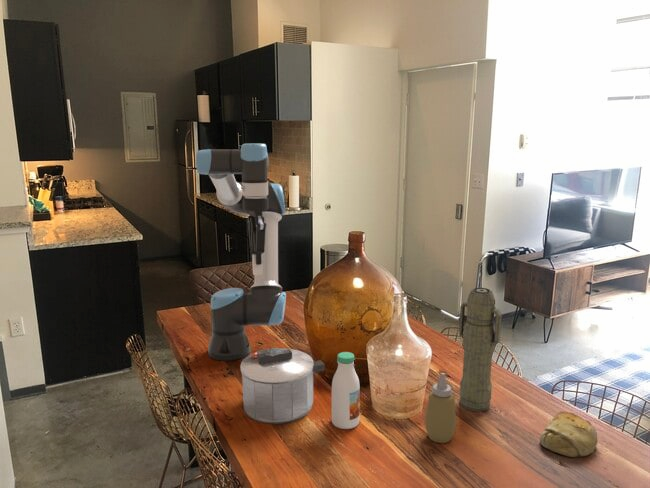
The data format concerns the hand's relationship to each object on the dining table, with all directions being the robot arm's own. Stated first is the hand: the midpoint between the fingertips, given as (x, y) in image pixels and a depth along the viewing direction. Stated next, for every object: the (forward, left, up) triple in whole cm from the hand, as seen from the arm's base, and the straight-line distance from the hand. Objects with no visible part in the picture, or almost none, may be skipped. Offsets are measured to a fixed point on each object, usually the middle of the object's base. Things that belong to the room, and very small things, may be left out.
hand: (257, 274), depth 157 cm
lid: (+4, +14, -24) cm, 28 cm away
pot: (+2, +14, -36) cm, 39 cm away
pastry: (-38, +80, -37) cm, 96 cm away
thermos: (-39, +53, -37) cm, 75 cm away
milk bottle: (-4, +34, -37) cm, 50 cm away
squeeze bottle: (-17, +56, -37) cm, 69 cm away
